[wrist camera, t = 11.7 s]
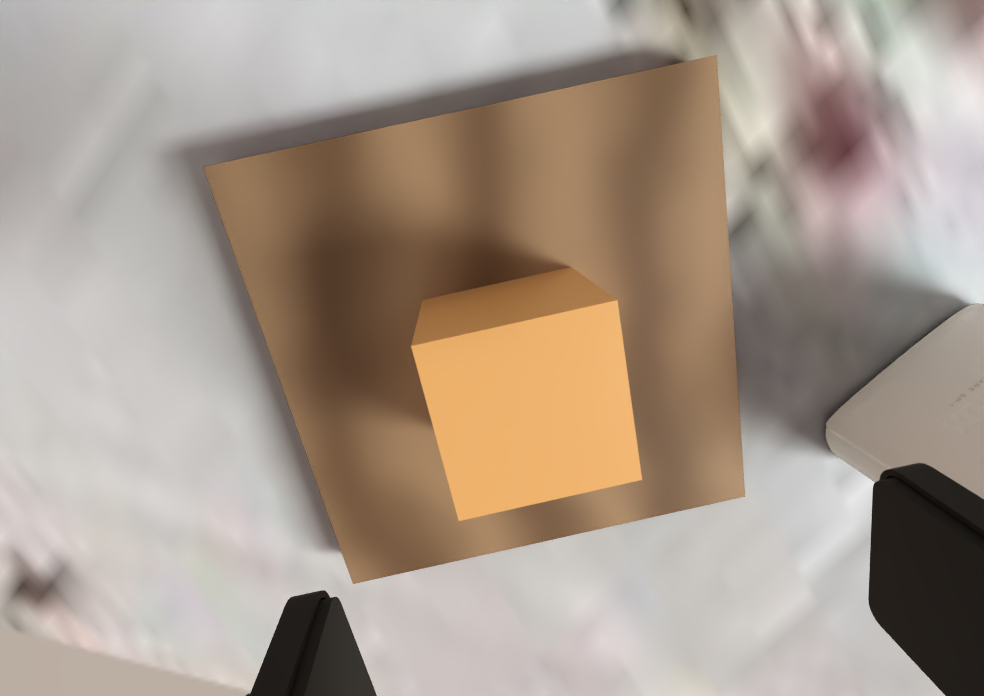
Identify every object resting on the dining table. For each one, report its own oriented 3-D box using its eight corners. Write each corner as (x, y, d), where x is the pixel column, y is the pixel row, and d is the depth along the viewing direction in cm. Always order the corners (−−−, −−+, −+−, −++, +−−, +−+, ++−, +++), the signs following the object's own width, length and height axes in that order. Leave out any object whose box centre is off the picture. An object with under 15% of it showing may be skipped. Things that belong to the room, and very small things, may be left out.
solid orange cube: (571, 267, 22) (617, 300, 16) (593, 403, 24) (642, 479, 18) (422, 300, 22) (410, 346, 16) (457, 433, 24) (458, 520, 18)
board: (693, 66, 22) (798, 15, 15) (725, 475, 28) (809, 565, 21) (224, 168, 22) (124, 162, 15) (359, 556, 28) (331, 673, 21)
